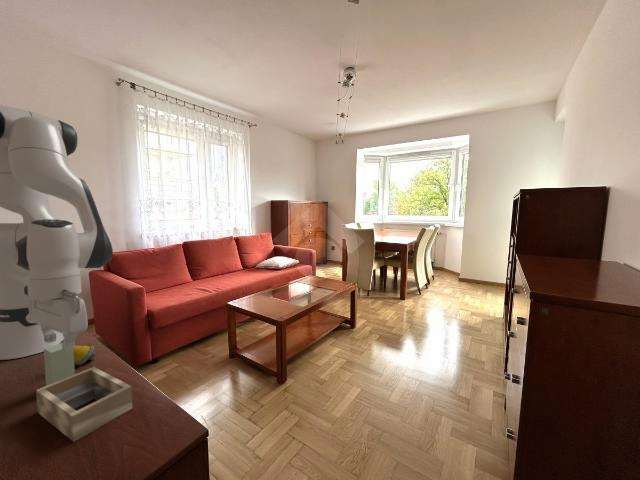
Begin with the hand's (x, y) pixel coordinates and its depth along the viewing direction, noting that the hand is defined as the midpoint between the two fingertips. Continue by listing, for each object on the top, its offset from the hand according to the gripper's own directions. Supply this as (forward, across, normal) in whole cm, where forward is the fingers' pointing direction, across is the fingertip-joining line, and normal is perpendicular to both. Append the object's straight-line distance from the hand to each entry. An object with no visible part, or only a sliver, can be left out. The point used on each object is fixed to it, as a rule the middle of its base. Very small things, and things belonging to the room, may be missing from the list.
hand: (59, 345), depth 63 cm
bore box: (+11, -14, +1) cm, 18 cm away
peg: (+11, +1, 0) cm, 11 cm away
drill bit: (+10, +9, -7) cm, 16 cm away
